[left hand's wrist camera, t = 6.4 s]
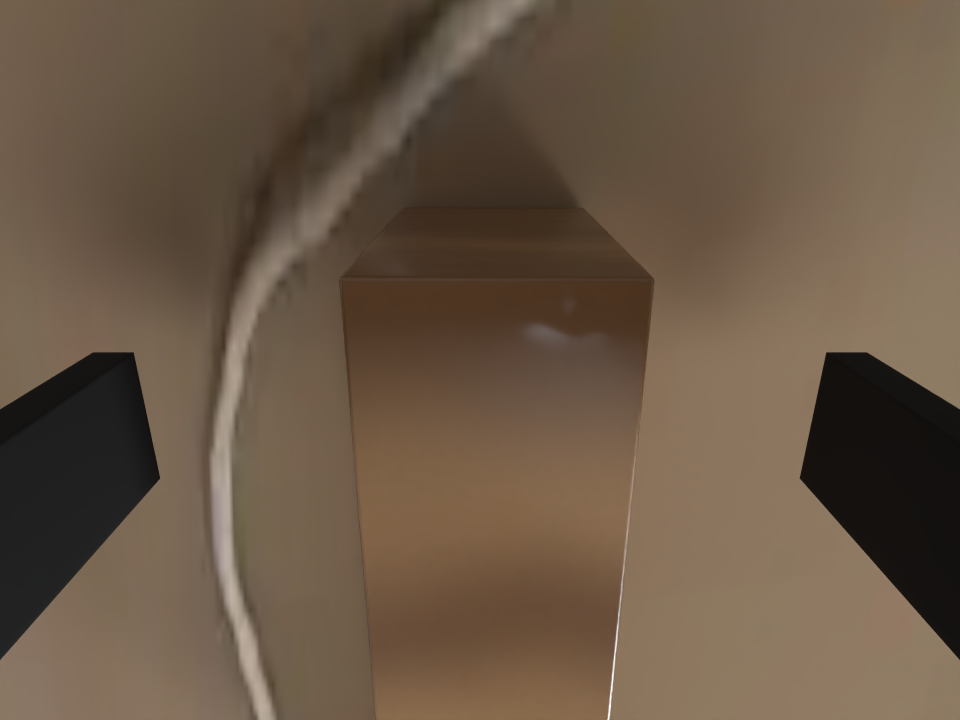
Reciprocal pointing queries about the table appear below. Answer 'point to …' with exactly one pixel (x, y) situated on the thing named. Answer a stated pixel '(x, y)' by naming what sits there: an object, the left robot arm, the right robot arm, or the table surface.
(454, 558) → the bar
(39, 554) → the left robot arm
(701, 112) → the table surface
